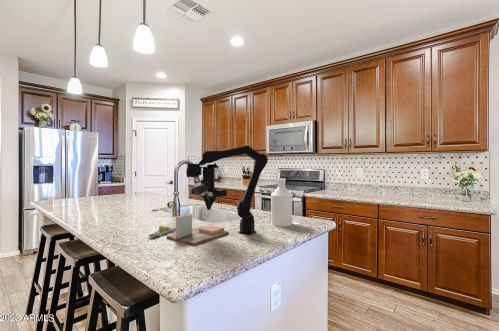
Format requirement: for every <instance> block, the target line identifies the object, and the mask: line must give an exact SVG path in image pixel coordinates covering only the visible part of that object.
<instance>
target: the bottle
mask: <svg viewBox="0 0 499 331" xmlns="http://www.w3.org/2000/svg"><path fill="white" fill-rule="evenodd" d="M286 180H287V178H277V187H276V189H274V191H273V192H272V193H270V220H271V223H270V224H271V225H272V226H274V227H280V228H282V227H284V228H285V227H286V228H287V227H291V226H292V225H293V194H292V193H291V192H290V191H289V190H288V189H287V187H286Z"/></svg>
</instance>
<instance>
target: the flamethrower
mask: <svg viewBox="0 0 499 331" xmlns="http://www.w3.org/2000/svg"><path fill="white" fill-rule="evenodd" d="M174 233H176V226H175V227H172V228H170V227H169V226H164V225H160V226H159V227H158V231H155V232H153V233H151V234H150V233H149V234H148V237H149V238H153V239H154V238H156V237H160V236H162V237H163V236H164V235H168V234H171V235H172V234H174Z"/></svg>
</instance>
